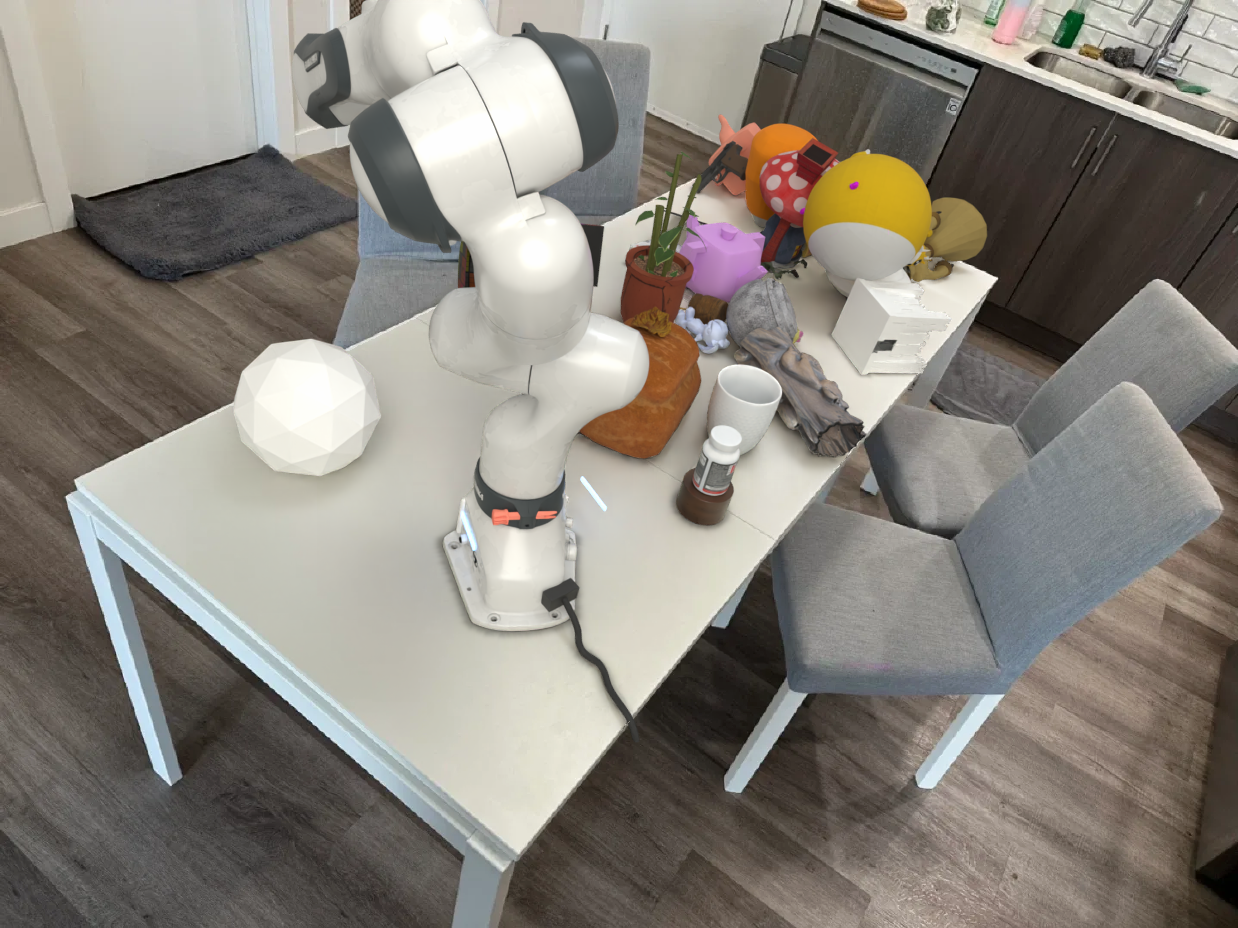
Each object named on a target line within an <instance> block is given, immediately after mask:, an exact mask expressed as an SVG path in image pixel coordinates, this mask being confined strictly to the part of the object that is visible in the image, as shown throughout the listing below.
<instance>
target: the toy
mask: <svg viewBox="0 0 1238 928" xmlns="http://www.w3.org/2000/svg"><path fill="white" fill-rule="evenodd" d="M839 162H840V163H838V164H837V165H835V166H834V167H832V168H831V169H830V170H828V171H827V172H826V173H825V174H824V175H823V176H822V177H821V179H820V180H819V181H818V182H817V183H816V185H815V186H814V188H813V189H812V191H811V193H810V195H809V198H808V200H807V203H806V206H805V208H802V209H801V210H800V214H804V218H803V228H804V235H805V240H806V243H807V245H808V248H809V250H810V252H811V254H812V255H811V256H813V258H814V260H815V261H816V263H818V265H820V266H821V267H822V268H823V269H824V270H827V271H829V272H830V273H832V274H834V275H836V276H838V277H841V278H844V279H847V280H851V281H856V279H857V278H860V279H864V280H869V281H872V280H877V279H881V278H884V277H887V276H889V275H891V274H893V273H895V272H897V271H898V270H900V269H901V268H903V267H904V266H916V265H919V263H922V264H925V262H924V261H923V260H931V259H932V258H929V256H926V255H925V254H926V252H927V251H930V250H926V249H925V246H924V242H925V240H926V238H927V237H931V236H932V234H933V232H932V230H930V225H931V217H932V200H931V196H930V192H929V189H928V188H927V185H926V184H925V182H924V180H923V178H922V176H921V175H920V174H919V173H918V172H917V171H916V170H915V169H914V168H913V167H912V166H911V165H909V164H908V163H907V162H905V161H903V160H901V159H899V158H897V157H893V156H891V155H887V154H882V153H871V150H870V149H869V148H868V149H865V150H863V151H858V152H856V153H853V154H851V156H850V157H848V158H846V159H844V160H842V161H839Z"/></svg>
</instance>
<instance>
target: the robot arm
mask: <svg viewBox="0 0 1238 928" xmlns="http://www.w3.org/2000/svg"><path fill="white" fill-rule="evenodd" d="M291 74H292V75H291V76H292V82H293V89H294V92H295V94H296V97H297V100H298V103H299V104H300V106H301V108H302V109H303V111H304V113H305V115H306V116H307V117H308V118H310V120H312V121H313V122H315V124H317V125H319V126H320V127H322V128H324V129H326V130H330V129H336V128H344V127H345V128H346V127H348V126H349V128H348V133H347V138H348V141H349V162H350V168H351V172H352V173H351V174H352V175H353V180H354V181H355V184H356V187H357V189H358V191H359V192H360V195H361V196H362V198H363V199H364V201H365V203H366V204H367V206H369V208H371V209H372V211H373V212H374V213H375V214H376V215H377V216H378V217H379V218H380V219H382V220H383V221H384V222H385V223H387V224H388V227H389V228H390V229H391V230H392V231H394V233H397V234H400V235H401V236H403V237H405V238H407V239H410V240H412V241H413V242H418V243H424V244H433V245H437V247H438V249H439V250H440V251H441V252H442V253H443V254H451V253H452V247H451V246H454V245H456V244H457V242H459V243H461V240H462V241H464V242H465V244H466V246H467V247H468V249H469V251H470V254H471V257H472V261H473V266H474V279H475V287H471V288H458V287H456V288H454V289H452V290H451V291H448V293H446V294H445V295H444V296H443V297H442V298H441V299H440V301H439V302H438V303H437V304H436V306H435V308H434V310H433V311H432V314H431V316H430V319H429V324H428V344H429V347H430V350H431V353H432V356H433V358H434V360H435V361H436V363H437V365H438V366H439V367H440V368H441V369H444V370H447V371H448V372H450V373H453V374H455V375H457V376H459V377H461V378H464V379H466V380H469V381H471V382H474V383H476V384H480V385H484V386H489V387H493V388H497V389H501V390H506V391H510V392H514V393H519V395H514V396H511V397H509V398H507V399H504V400H503V401H502V402H500V403H498V404H497V405H496V406H495V407H494V408H492V409H491V410H490V412H489V413H488V415H487V416H486V418H485V419H484V423H483V426H482V436H481V445H480V454H479V457H478V459H477V461H476V466H475V468H474V472H473V487H472V488H471V489H470V490H469V491H468V492H467V493H466V494H465V495H464V496H463V497H462V498H461V499H460V502H459V508H458V514H457V515H458V516H457V522H456V529H454V530H452V531H450V532H449V533H447V534H446V535H445V536H444V537H443V541H442V547H443V550H444V551H443V552H444V553H445V556H446V558H447V561H448V564H449V566H450V569H451V572H452V575H453V577H454V580H455V583H456V585H457V586H456V587H457V588H458V591H459V593H460V596H461V599H462V602H463V604H464V607H465V610H466V612H467V615H468V618H469V620H470V621H471V623H473V624H475V625H477V626H479V627H482V628H485V629H488V630H494V631H503V632H526V631H536V630H542V629H548V628H552V627H555V626H558V625H561V624H563V623H565V622H567V621H568V620H570V622H571V625H572V628H573V631H574V632H573V633H574V642H575V647H576V649H577V651H578V653H579V654H580V656H582V658H584V659H585V660H587V661H588V662H590V663H591V664H593V665H594V666H595V667H596V668H597V670H598V671H599V672H600V675H601V678H602V682H603V685H604V688H605V690H606V691H607V694H608V696H609V697H610V699H611V701H612V702H613V703H614V705H615V706H616V708H617V709H618V710H619V712H620V713H621V715H622V716H623V718H624V719H625V721H626V724H627V726H628V729H629V731H630V737H631V739H632V741H633V742H635V743H639V742H640V734H639V730H638V727H637V723H636V721H635V719H634V716H633V715H632V713H631V712H630V710H629V708H628V707H627V706H626V704H625V703H624V701H623V700H622V698H621V697H620V696H619V694H618V693H617V692H616V690H615V688H614V686H613V684H612V683H613V682H612V680H611V677H610V674H609V671H608V668H607V667H606V665H605V663H604V662H603V661H602V660H601V659H600V658H599V657H597V656H595V655H594V654H592V653H591V652H590V651H588V650H587V649H586V648H585V646H584V643H583V632H582V628H581V624H580V621H579V619H578V616H577V614H576V612H575V611H576V599H577V598H578V594H579V591H580V586H579V585H578V584H577V583H576V560H577V555H578V545H577V544H576V539H577V538H576V534H575V532H574V531H572V530H571V529H572V528H573V522H574V519H573V517H567V506H568V502H569V496H568V495H567V494H566V486H567V485H566V463H567V459H568V457H569V454H570V450H571V446H572V445H573V442H574V440H575V438H576V436H577V434H578V433H580V432H579V431H580V430H581V429H582V428H583V427H584V426H585V425H586V424H587V423H589V422H590V421H592V420H593V419H595V418H597V417H599V416H600V415H603V414H605V413H608V412H611V411H614V410H618V409H621V408H623V407H625V406H626V405H628V404H629V403H631V402H632V401H633V400H634V399H635V398H636V397H637V395H638V394H639V393H640V391H641V390H642V388H643V386H644V384H645V382H646V379H647V376H648V371H649V354H648V349H647V346H646V343H645V341H644V339H643V337H642V335H641V334H640V332H639V331H638V330H636V329H633V328H631V327H629V326H627V325H625V324H623V323H624V322H621V321H618V320H616V319H614V318H612V317H609V316H607V315H605V314H601V313H596V312H593V311H592V307H593V295H594V286H593V282H594V273H593V263H592V256H591V251H590V248H589V244H588V241H587V238H586V235H585V233H584V230H583V228H582V226H581V224H582V223H581V222H580V220H579V219H578V217H577V216H576V215H575V214H574V212H573V211H572V210H571V209H570V207H568V206H567V205H565V204H564V203H562V202H561V201H560V200H558V199H555V198H554V197H551V196H549V195H545V194H540V192H542V191H544V190H546V189H547V188H551V186H553V185H555V184H557V183H559V182H560V181H562V180H564V179H566V178H567V177H569V176H571V175H572V174H574V173H575V172H577V171H578V172H580V173H584V172H586V171H587V170H588V169H590V168H592V167H594V166H595V165H596V164H597V163H599V162H601V161H602V160H603V159H604V158H606V156H607V155H608V154H610V153H611V152H612V150H613V149H614V148H615V145H616V142H617V137H618V134H619V113H618V109H617V99H616V95H615V92H614V87H613V85H612V82H611V80H610V78H609V75H608V74H607V72H606V70H605V68H604V67H603V65H602V63H601V61H600V60H599V58H598V57H597V55H596V54H595V52H594V51H593V49H592V48H590V47H589V46H588V45H586V44H585V43H583V42H581V41H580V40H578V39H575V38H574V37H572V36H569V35H568V34H565V33H559V32H549V31H540V30H539V29H538V28H537V27H536V26H535V24H533V23H532V22H527V21H523V22H522V23H521V27H520V33H513V34H511V36H504V35H501V34H499V33H498V32H497V30H496V28H495V27H494V25H493V22H492V19H491V17H490V14H489V12H488V10H487V9H486V6H485V5H484V3H483V1H482V0H364V1H363V2H362V4H361V13H360V14H359V15H357V16H355V17H353V18H350V19H349V20H347V21H346V22H344V23H342V24H341V25H340V26H338V27H334V28H333V29H331V30H329V31H327V32H325V33H315V32H314V33H306V34H305V35H304V36H303V38H301V40H299V42H298V44H296V46H295V48H294V49H293V57H292V62H291ZM580 223H581V224H580ZM580 481H581V483H582V484H583V485H584V487H585V489H587V490H588V492H589V493H590V494H591V496H592V497H593V499H594V500H595V501H596V502H597V504H598V505H599V506H600V508H601V509H602V510H603V512H606V511H607V508H608V507H607V506H606V504H605V503H604V502H603V501H602V499H601V498H600V497H599V495H598V493H596V491H595V490H594V489H593V487H592V486H591V484H590V483H589V482H588V481H587V479H586V478H585V477H584V476H581V477H580ZM570 528H571V529H570ZM629 721H630V722H629ZM628 722H629V723H628Z"/></svg>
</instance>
